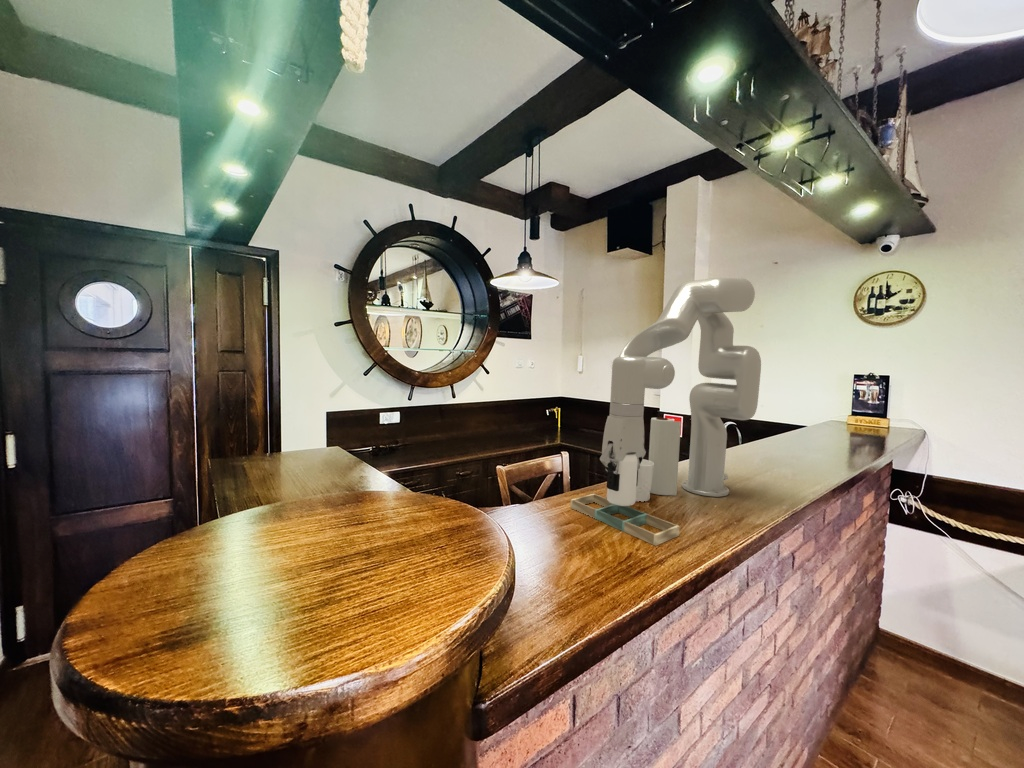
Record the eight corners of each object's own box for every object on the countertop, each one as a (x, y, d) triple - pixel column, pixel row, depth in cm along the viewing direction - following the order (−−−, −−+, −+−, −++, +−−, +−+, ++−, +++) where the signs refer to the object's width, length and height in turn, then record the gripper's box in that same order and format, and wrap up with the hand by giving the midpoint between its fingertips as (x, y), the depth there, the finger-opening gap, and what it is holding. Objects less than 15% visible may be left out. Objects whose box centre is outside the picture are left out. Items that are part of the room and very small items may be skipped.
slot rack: (593, 501, 110) (593, 493, 110) (679, 535, 91) (679, 526, 91) (570, 508, 105) (570, 499, 105) (655, 545, 86) (656, 535, 86)
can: (600, 499, 99) (603, 449, 98) (622, 495, 102) (625, 447, 101) (618, 508, 93) (621, 455, 92) (641, 505, 96) (644, 453, 95)
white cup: (648, 493, 118) (650, 459, 117) (654, 503, 110) (657, 466, 110) (619, 492, 119) (621, 457, 118) (624, 501, 111) (626, 464, 110)
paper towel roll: (642, 489, 122) (646, 416, 120) (660, 487, 124) (664, 416, 122) (658, 497, 115) (662, 421, 113) (676, 496, 117) (681, 420, 115)
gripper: (635, 406, 104) (631, 477, 106) (588, 410, 94) (584, 488, 95) (662, 410, 98) (657, 485, 100) (615, 414, 88) (610, 498, 89)
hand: (622, 486), depth 97 cm, fingers closed on can, 5 cm apart
